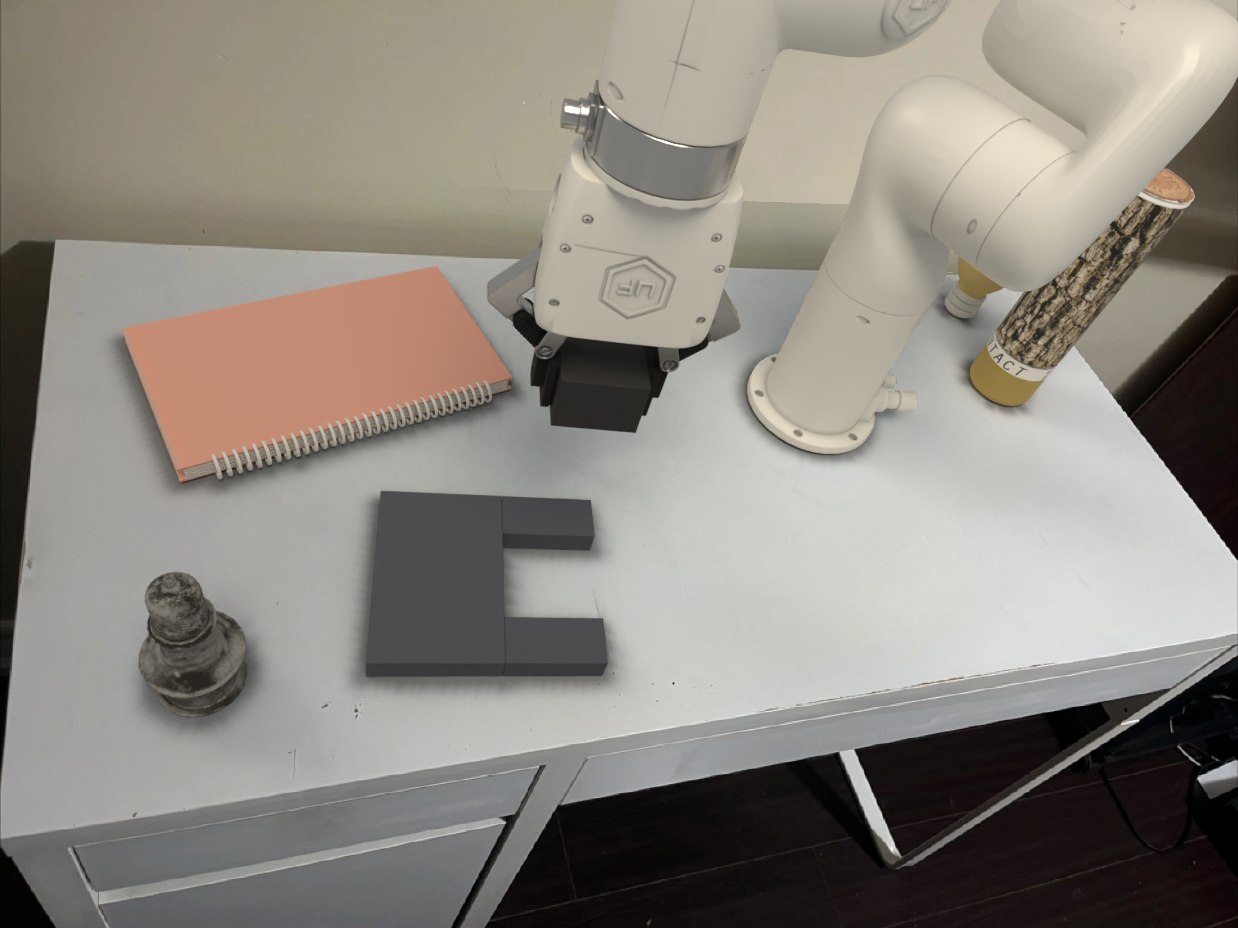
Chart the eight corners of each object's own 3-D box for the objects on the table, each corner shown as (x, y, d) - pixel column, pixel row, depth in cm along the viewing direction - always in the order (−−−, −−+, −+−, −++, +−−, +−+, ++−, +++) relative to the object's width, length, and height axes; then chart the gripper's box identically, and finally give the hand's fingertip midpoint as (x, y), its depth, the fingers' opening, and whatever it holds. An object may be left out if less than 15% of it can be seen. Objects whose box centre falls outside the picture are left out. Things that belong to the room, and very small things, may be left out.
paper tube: (1003, 361, 95) (1158, 157, 76) (1039, 406, 91) (1211, 203, 72) (954, 365, 92) (1101, 156, 73) (989, 412, 88) (1153, 203, 70)
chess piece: (209, 619, 57) (177, 513, 48) (272, 673, 56) (252, 574, 47) (128, 682, 53) (78, 580, 44) (194, 741, 52) (155, 648, 43)
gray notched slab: (586, 514, 69) (591, 499, 68) (602, 676, 60) (608, 663, 59) (380, 506, 66) (380, 490, 64) (366, 677, 57) (365, 663, 55)
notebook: (185, 495, 63) (180, 478, 61) (125, 343, 70) (120, 325, 69) (516, 399, 76) (518, 383, 74) (435, 279, 83) (436, 263, 82)
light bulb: (970, 294, 102) (1017, 223, 94) (992, 331, 98) (1043, 260, 90) (923, 290, 100) (967, 218, 93) (943, 327, 96) (990, 255, 89)
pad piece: (627, 372, 58) (642, 328, 55) (635, 433, 55) (651, 389, 52) (547, 364, 57) (557, 318, 54) (550, 426, 54) (561, 380, 51)
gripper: (487, 154, 38) (455, 427, 51) (843, 209, 42) (726, 450, 55) (489, 71, 43) (459, 342, 56) (808, 128, 46) (708, 368, 60)
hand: (592, 393), depth 55 cm, fingers closed on pad piece, 5 cm apart
